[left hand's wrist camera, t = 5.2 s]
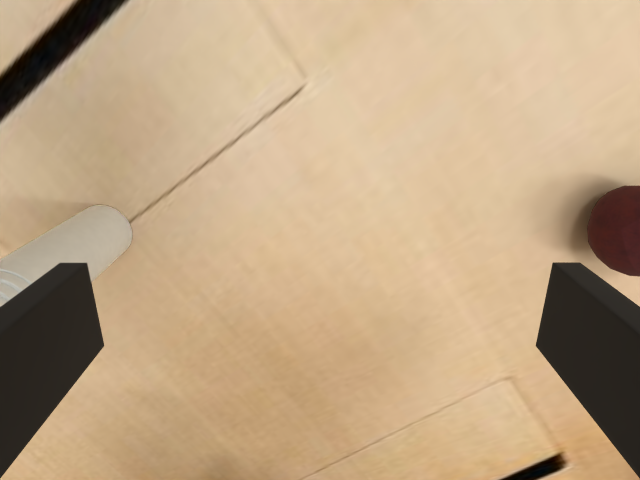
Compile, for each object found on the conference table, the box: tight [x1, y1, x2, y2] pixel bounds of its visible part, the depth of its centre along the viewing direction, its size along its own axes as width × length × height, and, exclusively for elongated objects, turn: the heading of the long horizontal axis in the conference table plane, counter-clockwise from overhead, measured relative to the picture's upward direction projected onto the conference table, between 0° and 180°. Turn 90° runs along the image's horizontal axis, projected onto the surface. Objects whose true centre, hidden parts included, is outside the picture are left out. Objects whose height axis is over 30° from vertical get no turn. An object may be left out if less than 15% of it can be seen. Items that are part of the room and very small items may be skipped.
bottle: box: [0, 205, 132, 307], centre depth 32 cm, size 5×5×20 cm
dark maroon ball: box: [587, 186, 640, 276], centre depth 38 cm, size 7×8×7 cm
